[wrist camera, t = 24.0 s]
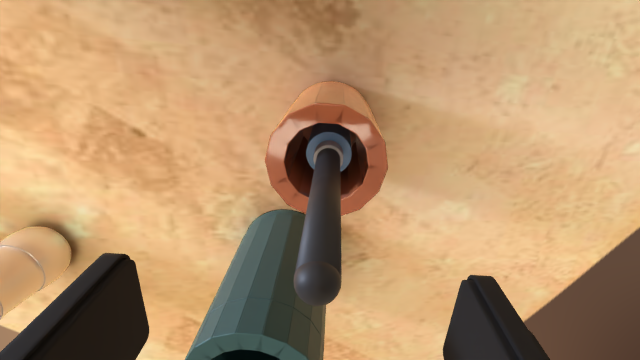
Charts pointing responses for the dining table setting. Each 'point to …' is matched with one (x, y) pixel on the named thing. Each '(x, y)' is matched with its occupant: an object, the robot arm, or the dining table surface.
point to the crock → (293, 136)
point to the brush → (323, 216)
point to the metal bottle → (30, 264)
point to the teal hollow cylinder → (262, 300)
